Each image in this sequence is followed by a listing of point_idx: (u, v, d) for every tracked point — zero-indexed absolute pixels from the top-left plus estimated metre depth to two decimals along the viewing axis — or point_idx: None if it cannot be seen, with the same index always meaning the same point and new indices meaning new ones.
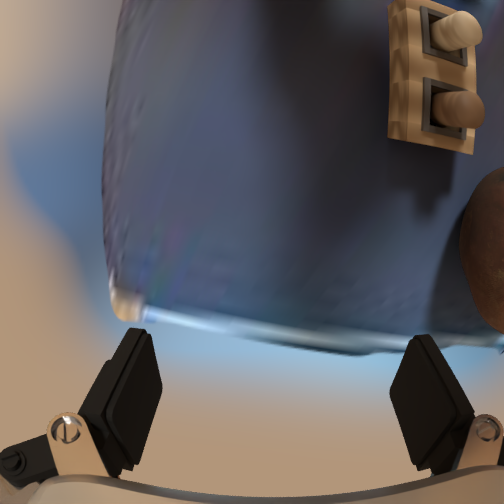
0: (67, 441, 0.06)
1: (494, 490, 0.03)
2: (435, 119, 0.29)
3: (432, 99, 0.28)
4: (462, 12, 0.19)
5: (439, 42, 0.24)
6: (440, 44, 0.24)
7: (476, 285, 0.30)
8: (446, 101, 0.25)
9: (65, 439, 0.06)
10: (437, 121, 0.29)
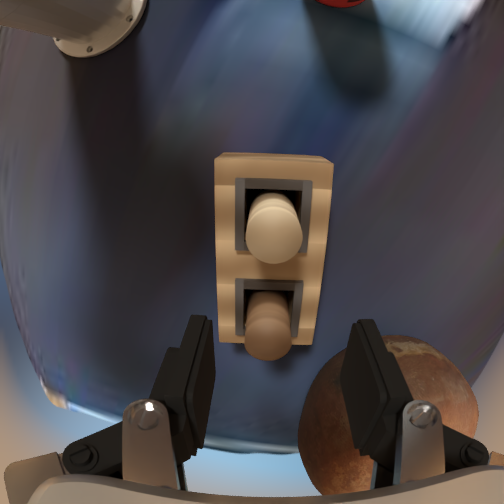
0: (142, 427, 0.06)
1: (494, 490, 0.03)
2: None
3: (249, 301, 0.31)
4: (266, 214, 0.21)
5: None
6: None
7: None
8: (246, 323, 0.28)
9: (140, 424, 0.07)
10: None
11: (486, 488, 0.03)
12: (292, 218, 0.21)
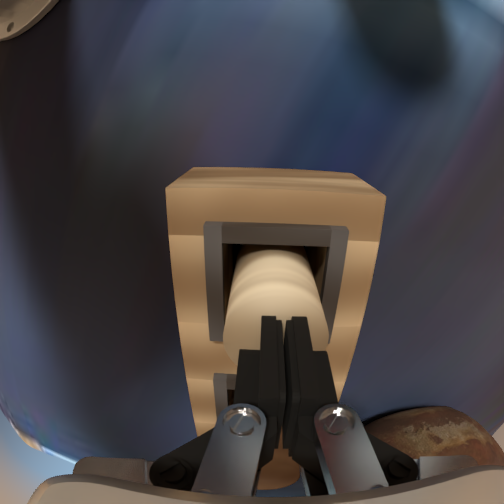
0: (235, 432, 0.07)
1: (494, 490, 0.03)
2: None
3: None
4: (261, 303, 0.11)
5: None
6: None
7: None
8: None
9: (233, 427, 0.07)
10: None
11: (486, 488, 0.03)
12: (312, 310, 0.11)
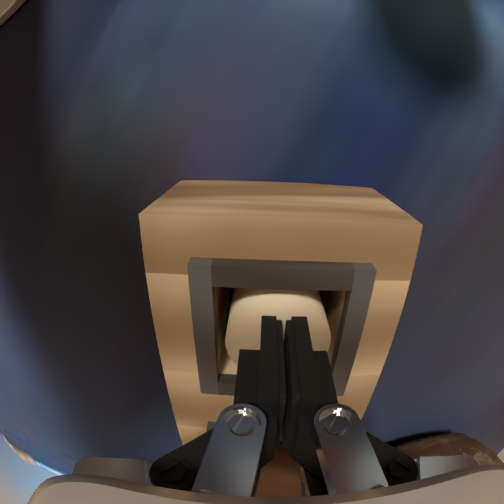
0: (235, 432, 0.07)
1: (494, 490, 0.03)
2: None
3: None
4: (263, 305, 0.11)
5: None
6: None
7: None
8: None
9: (234, 427, 0.07)
10: None
11: (486, 488, 0.03)
12: (314, 312, 0.11)
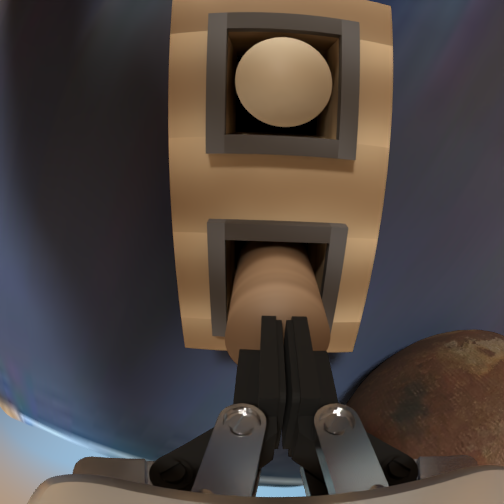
0: (235, 432, 0.07)
1: (494, 490, 0.03)
2: None
3: (238, 260, 0.16)
4: (269, 42, 0.11)
5: None
6: None
7: None
8: None
9: (234, 427, 0.07)
10: None
11: (486, 488, 0.03)
12: (313, 50, 0.11)
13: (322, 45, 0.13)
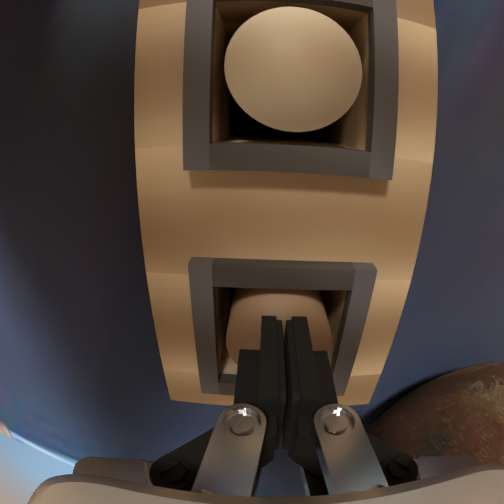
0: (235, 432, 0.07)
1: (494, 490, 0.03)
2: None
3: None
4: (273, 13, 0.07)
5: None
6: None
7: None
8: (232, 301, 0.13)
9: (234, 427, 0.07)
10: None
11: (486, 488, 0.03)
12: (335, 25, 0.07)
13: (342, 25, 0.09)
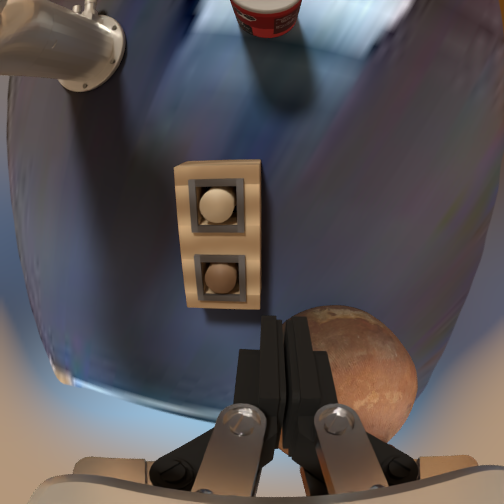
0: (235, 432, 0.07)
1: (494, 490, 0.03)
2: None
3: None
4: (210, 192, 0.36)
5: None
6: None
7: None
8: None
9: (234, 427, 0.07)
10: None
11: (486, 488, 0.03)
12: (226, 194, 0.36)
13: None
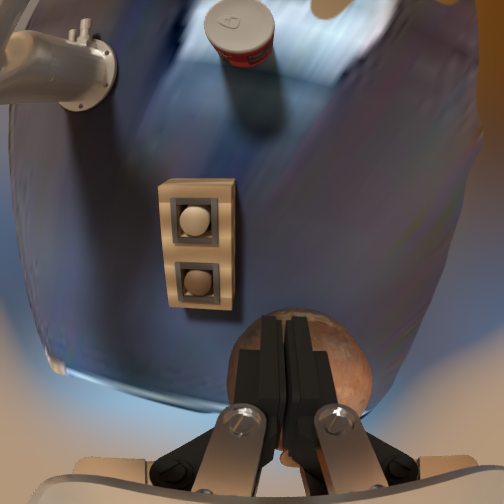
0: (235, 432, 0.07)
1: (494, 490, 0.03)
2: None
3: None
4: (188, 209, 0.41)
5: None
6: None
7: None
8: None
9: (234, 427, 0.07)
10: None
11: (486, 488, 0.03)
12: (202, 211, 0.41)
13: None
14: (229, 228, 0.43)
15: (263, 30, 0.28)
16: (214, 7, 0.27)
